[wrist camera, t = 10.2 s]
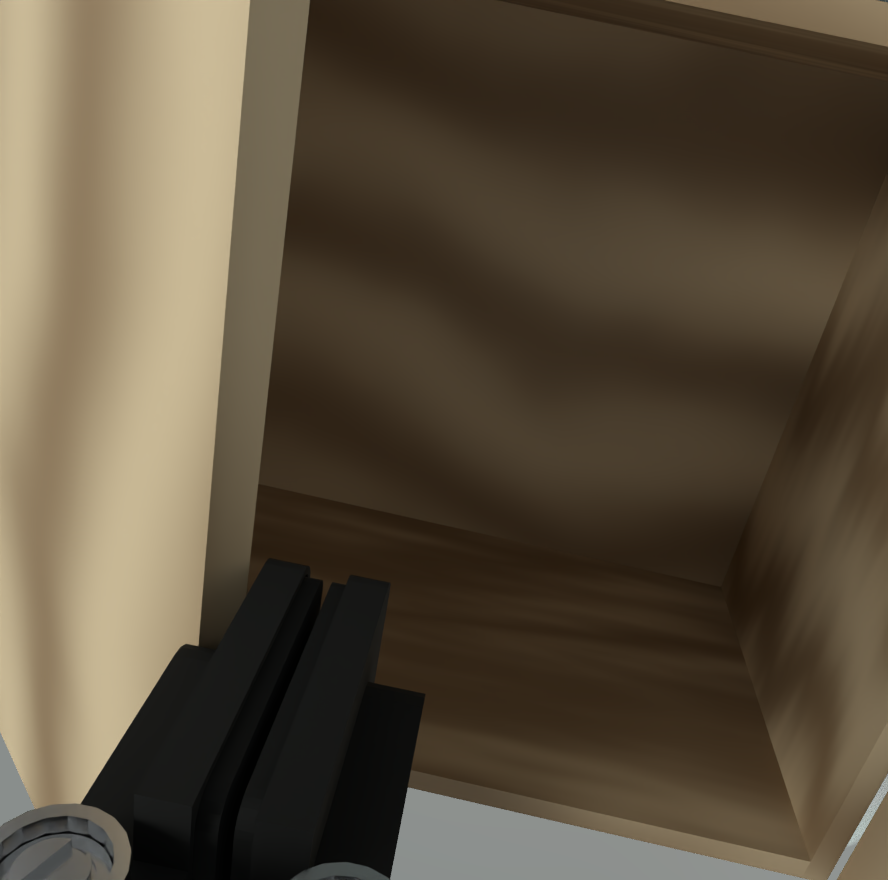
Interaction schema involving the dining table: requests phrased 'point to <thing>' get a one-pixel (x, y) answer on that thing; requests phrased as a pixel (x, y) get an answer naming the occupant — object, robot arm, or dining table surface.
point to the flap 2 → (870, 850)
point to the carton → (602, 401)
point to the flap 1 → (131, 348)
